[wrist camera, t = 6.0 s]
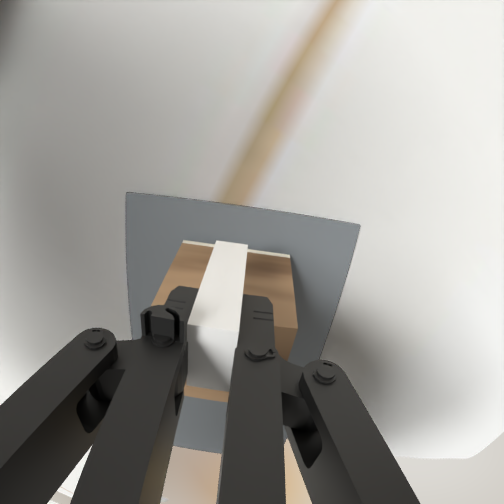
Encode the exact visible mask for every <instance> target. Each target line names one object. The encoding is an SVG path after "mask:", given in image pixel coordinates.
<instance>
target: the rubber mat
mask: <svg viewBox="0 0 504 504" xmlns="http://www.w3.org/2000/svg"><path fill="white" fill-rule="evenodd" d="M359 229H360V225H359V224H355V223H349V222H343V221H338V220H332V219H326V218H320V217H314V216H308V215H301V214H295V213H289V212H282V211H276V210H269V209H262V208H255V207H248V206H241V205H234V204H226V203H219V202H211V201H203V200H195V199H187V198H178V197H170V196H161V195H151V194H142V193H132V192H127V193H126V263H127V283H128V298H129V311H130V322H131V332H132V340H137V339H140V338H141V336H142V330H141V317H140V313H141V312H142V311H143V310H144V309H146V308H148V307H150V306H151V305H152V303H153V300H154V298H155V296H156V294H157V292H158V290H159V288H160V286H161V284H162V282H163V280H164V278H165V276H166V274H167V272H168V270H169V268H170V266H171V264H172V262H173V260H174V258H175V256H176V254H177V252H178V250H179V248H180V246H181V244H182V242H183V240H188V241H195V242H202V243H209V244H215V243H216V240H217V241H224V242H232V243H239V244H246V245H248V249H252V250H259V251H266V252H273V253H280V254H287V255H290V261H291V269H292V278H293V287H294V296H295V305H296V315H297V324H298V330H297V333H296V336H295V339H294V343H293V346H292V349H291V352H290V355H289V358H288V362H290V363H292V364H295V365H298V366H301V367H305V365H307V364H308V363H309V362H312V361H315V360H319V358H320V355H321V352H322V350H323V347H324V344H325V341H326V338H327V335H328V332H329V330H330V327H331V324H332V321H333V318H334V315H335V312H336V308H337V305H338V302H339V299H340V296H341V293H342V289H343V286H344V283H345V279H346V276H347V273H348V269H349V266H350V262H351V259H352V255H353V252H354V248H355V244H356V240H357V237H358V233H359ZM227 404H228V402H221V401H214V400H207V399H201V398H195V397H189V396H184V400H183V404H182V408H181V413H180V417H179V421H178V425H177V429H176V434H175V438H174V442H173V446H178V447H183V448H188V449H195V450H201V451H206V452H214V453H220V454H222V448H223V439H224V430H225V422H226V411H227ZM287 437H288V436H287V433H286V430H285V427H284V425H283V439H284V443H285V441H286V439H287Z"/></svg>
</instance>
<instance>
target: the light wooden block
mask: <svg viewBox="0 0 504 504" xmlns="http://www.w3.org/2000/svg"><path fill="white" fill-rule="evenodd" d="M214 246H215V244H209V243H202V242H195V241H188V240H183V242H182V244H181V246H180V248H179V250H178V252H177V254H176V256H175V258H174V260H173V262H172V264H171V266H170V268H169V270H168V272H167V274H166V276H165V278H164V280H163V282H162V284H161V286H160V288H159V290H158V292H157V294H156V296H155V298H154V300H153V303H152V305H151V306H155V305H164V304H165V302H166V300H167V298H168V296H169V294H170V292H171V291H172V290H173V289H175V288H176V287H178V286H186V287H192V288H200V285H201V282H202V279H203V277H204V274H205V271H206V268H207V265H208V262H209V260H210V257H211V254H212V251H213V249H214ZM243 294H248V295H256V296H264V297H268V299H269V300H270V301H271V303H272V304H273V315H274V335H275V348H276V349H277V350H278V353H279V355H280V356H281V357H282V358H283V359H285V360H286V361H288V358H289V355H290V352H291V349H292V346H293V343H294V339H295V336H296V333H297V330H298V324H297V315H296V305H295V296H294V287H293V278H292V269H291V261H290V255H287V254H280V253H273V252H266V251H259V250H252V249H247V259H246V268H245V278H244V287H243ZM184 396H189V397H195V398H201V399H207V400H214V401H221V402H228V397H229V392H227V391H219V390H212V389H206V388H199V387H193V386H188V385H187V378H186V382H185V386H184Z"/></svg>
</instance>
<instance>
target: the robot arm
mask: <svg viewBox="0 0 504 504" xmlns="http://www.w3.org/2000/svg"><path fill="white" fill-rule="evenodd" d="M247 249H248V245H246V244H239V243H232V242H224V241H217V240H216V243H215V246H214V249H213V251H212V254H211V257H210V260H209V262H208V265H207V268H206V271H205V274H204V277H203V279H202V282H201V285H200V288H192V287H186V286H178V287H176V288H175V289H173V290H172V291H171V292H170V294H169V296H168V298H167V300H166V302H165V304H164V305H155V306H150V307H148V308H146V309H144V310H143V311H142V312H141V313H140V317H141V330H142V336H141V338H140V339H137V340H128V341H116V338H115V336H114V334H113V333H111V332H110V331H109V330H106V329H103V328H91V329H87V330H85V331H83V332H81V333H80V334H79V335H77V336H76V337H75V338H74V339H73V340H72V341H71V342H69V343H68V344H67V345H66V346H65V347H64V348H63V349H61V350H60V351H59V352H58V353H57V354H56V355H55V356H54V357H52V358H51V359H50V360H49V361H48V362H47V363H46V364H45V365H43V366H42V367H41V368H40V369H39V370H38V371H37V372H36V373H35V374H34V375H32V376H31V377H30V378H29V379H28V380H27V381H26V382H25V383H24V384H23V385H22V386H21V387H19V388H18V389H17V390H16V391H15V392H14V393H13V394H12V395H11V396H10V397H9V398H8V399H7V400H6V401H5V402H4V403H3V404H1V405H0V504H47V503H48V502H49V500H50V499H51V498H52V496H53V495H54V494H55V492H56V491H57V490H58V488H59V487H60V486H61V485H62V483H63V482H64V481H65V479H66V478H67V477H68V475H69V474H70V473H71V472H72V470H73V469H74V468H75V466H76V465H77V464H78V462H79V461H80V460H81V459H82V457H83V456H84V455H85V453H86V452H87V451H88V450H89V448H90V447H91V446H92V448H91V450H90V453H89V455H88V458H87V460H86V463H85V465H84V468H83V471H82V473H81V476H80V478H79V481H78V484H77V486H76V489H75V492H74V495H73V497H72V500H71V503H70V504H160V501H161V497H162V491H163V487H164V482H165V478H166V473H167V468H168V464H169V460H170V455H171V451H172V447H173V442H174V438H175V434H176V429H177V425H178V421H179V417H180V413H181V408H182V404H183V400H184V386H185V382H186V378H187V385H188V386H193V387H199V388H206V389H212V390H219V391H227V392H229V397H228V404H227V411H226V422H225V430H224V439H223V448H222V457H221V466H220V475H219V484H218V493H217V502H216V504H286V496H285V495H286V494H285V467H284V466H285V464H284V439H283V425H284V427H285V430H286V433H287V436H288V439H289V442H290V444H291V447H292V450H293V453H294V456H295V458H296V461H297V464H298V467H299V469H300V472H301V475H302V477H303V480H304V483H305V485H306V488H307V490H308V493H309V496H310V499H311V501H312V504H420V502H419V501H418V499H417V497H416V495H415V493H414V492H413V490H412V488H411V486H410V484H409V483H408V481H407V479H406V477H405V476H404V474H403V472H402V470H401V468H400V467H399V465H398V463H397V461H396V460H395V458H394V456H393V454H392V453H391V451H390V449H389V448H388V446H387V444H386V442H385V441H384V439H383V437H382V435H381V434H380V432H379V430H378V428H377V427H376V425H375V423H374V422H373V420H372V418H371V416H370V415H369V413H368V411H367V410H366V408H365V406H364V405H363V403H362V401H361V399H360V398H359V396H358V394H357V393H356V391H355V389H354V388H353V386H352V384H351V382H350V381H349V379H348V377H347V376H346V374H345V372H344V371H343V370H342V369H341V368H340V367H339V366H338V365H336V364H334V363H332V362H329V361H326V360H315V361H312V362H309V363H308V364H307V365H305V367H301V366H298V365H295V364H292V363H290V362H288V361H286V360H285V359H283V358H282V357H281V356H280V355H279V353H278V350H277V349H276V348H275V335H274V315H273V304H272V303H271V301H270V300H269V299H268V297H264V296H256V295H248V294H243V287H244V278H245V268H246V259H247ZM92 444H93V445H92Z"/></svg>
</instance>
